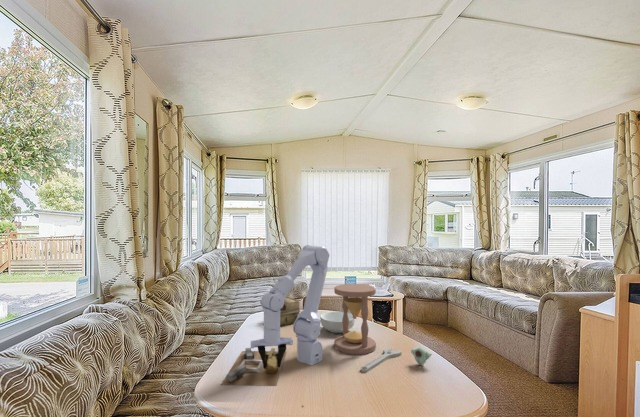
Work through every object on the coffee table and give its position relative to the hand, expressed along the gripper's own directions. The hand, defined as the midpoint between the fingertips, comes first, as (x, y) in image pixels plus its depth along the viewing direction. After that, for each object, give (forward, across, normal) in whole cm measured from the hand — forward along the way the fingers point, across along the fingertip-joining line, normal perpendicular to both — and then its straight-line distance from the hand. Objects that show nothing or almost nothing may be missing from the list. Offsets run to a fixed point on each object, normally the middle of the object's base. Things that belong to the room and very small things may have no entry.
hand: (271, 366), depth 119 cm
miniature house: (+3, -11, -60) cm, 61 cm away
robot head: (+3, -55, +4) cm, 55 cm away
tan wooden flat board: (+3, +5, -5) cm, 8 cm away
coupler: (+2, 0, 0) cm, 2 cm away
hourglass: (+3, -37, -18) cm, 41 cm away
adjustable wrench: (+3, -42, -3) cm, 42 cm away
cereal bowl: (+3, -36, -40) cm, 54 cm away
